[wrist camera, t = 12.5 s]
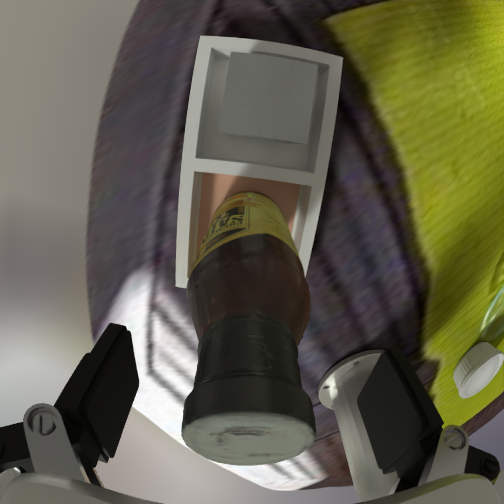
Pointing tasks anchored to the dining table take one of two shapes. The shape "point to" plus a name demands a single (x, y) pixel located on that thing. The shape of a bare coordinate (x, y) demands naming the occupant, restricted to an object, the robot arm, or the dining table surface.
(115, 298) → the dining table surface
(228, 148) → the divided bay tray
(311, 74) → the grey metal block
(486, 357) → the ramekin
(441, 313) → the dining table surface
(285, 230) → the sauce bottle
